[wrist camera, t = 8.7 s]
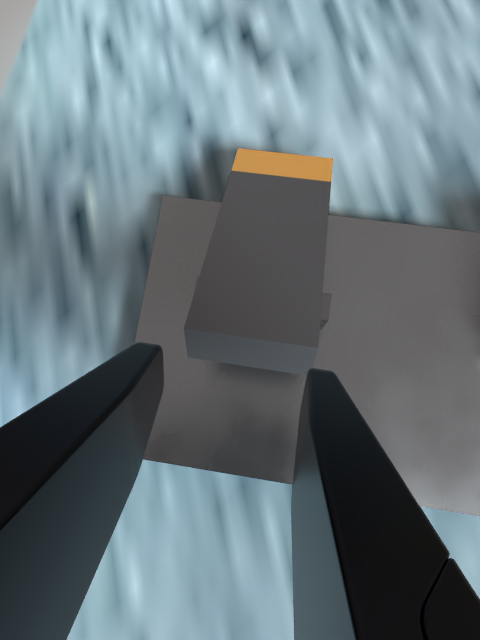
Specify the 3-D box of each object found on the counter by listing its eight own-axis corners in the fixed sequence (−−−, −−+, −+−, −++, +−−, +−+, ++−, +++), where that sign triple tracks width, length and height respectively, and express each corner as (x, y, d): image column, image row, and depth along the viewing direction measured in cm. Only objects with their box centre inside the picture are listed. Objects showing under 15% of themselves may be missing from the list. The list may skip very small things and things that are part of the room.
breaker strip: (682, 545, 17) (800, 585, 13) (122, 451, 19) (86, 462, 15) (678, 265, 19) (781, 231, 15) (169, 205, 21) (147, 160, 17)
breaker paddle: (318, 347, 13) (332, 158, 19) (183, 328, 14) (237, 148, 19) (310, 376, 14) (326, 190, 20) (187, 357, 15) (237, 180, 21)
